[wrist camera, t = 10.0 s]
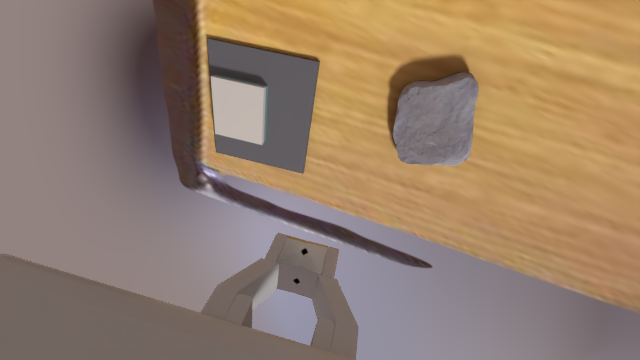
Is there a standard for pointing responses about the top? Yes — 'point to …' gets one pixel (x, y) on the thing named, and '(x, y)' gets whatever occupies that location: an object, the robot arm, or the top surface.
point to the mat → (270, 102)
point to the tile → (239, 108)
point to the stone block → (436, 120)
